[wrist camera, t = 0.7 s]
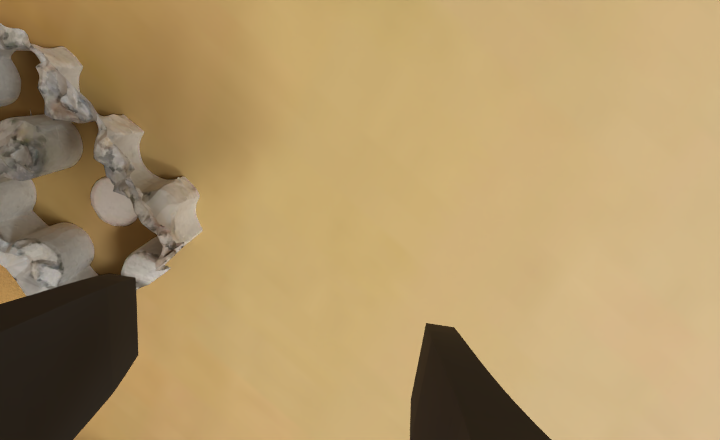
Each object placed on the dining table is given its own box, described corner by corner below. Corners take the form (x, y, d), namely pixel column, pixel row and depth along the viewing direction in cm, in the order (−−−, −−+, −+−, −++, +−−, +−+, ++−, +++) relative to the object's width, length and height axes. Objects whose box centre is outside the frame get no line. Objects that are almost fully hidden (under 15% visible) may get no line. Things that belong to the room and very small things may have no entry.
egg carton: (232, 219, 20) (192, 256, 16) (117, 304, 22) (57, 355, 18) (54, 7, 18) (-43, -11, 14) (-57, 122, 19) (-170, 135, 16)
